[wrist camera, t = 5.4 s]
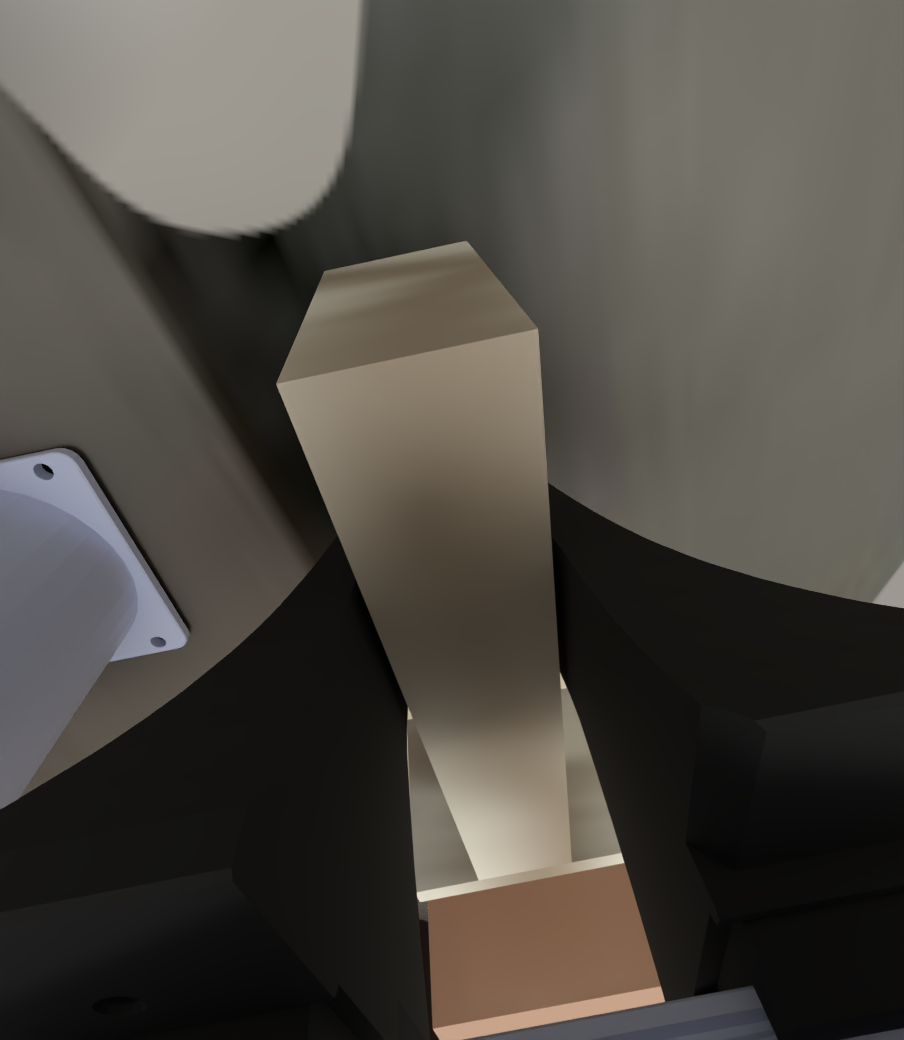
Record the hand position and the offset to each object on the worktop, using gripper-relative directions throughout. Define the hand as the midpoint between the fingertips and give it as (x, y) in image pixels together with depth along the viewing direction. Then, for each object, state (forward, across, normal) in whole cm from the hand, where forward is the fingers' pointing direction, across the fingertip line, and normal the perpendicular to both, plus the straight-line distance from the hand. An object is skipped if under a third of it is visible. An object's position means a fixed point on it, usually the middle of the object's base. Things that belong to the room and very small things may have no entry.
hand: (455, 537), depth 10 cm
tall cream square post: (+2, 0, +2) cm, 3 cm away
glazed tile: (+5, 0, +15) cm, 16 cm away
